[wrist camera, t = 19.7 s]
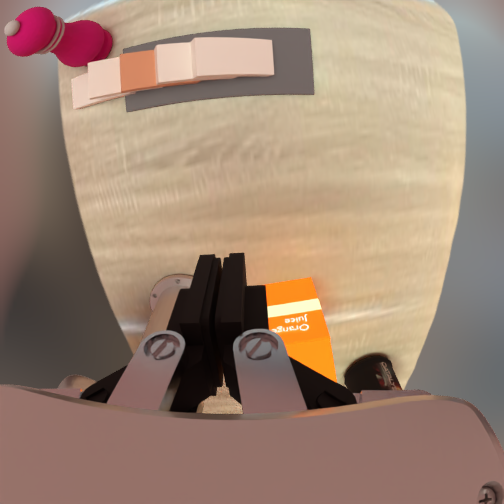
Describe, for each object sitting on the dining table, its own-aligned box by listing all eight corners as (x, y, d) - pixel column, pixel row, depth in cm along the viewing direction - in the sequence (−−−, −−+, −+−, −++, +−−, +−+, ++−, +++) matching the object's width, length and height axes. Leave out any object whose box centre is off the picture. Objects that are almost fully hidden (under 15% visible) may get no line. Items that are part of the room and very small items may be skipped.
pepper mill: (84, 78, 32) (-9, 75, 14) (71, 45, 29) (-18, 31, 11) (122, 51, 31) (37, 24, 13) (107, 18, 28) (26, -18, 10)
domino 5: (271, 40, 29) (194, 37, 26) (274, 74, 31) (196, 75, 28) (264, 43, 31) (190, 42, 27) (266, 76, 33) (192, 78, 29)
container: (337, 361, 58) (358, 432, 42) (388, 342, 56) (419, 408, 40) (344, 388, 63) (361, 450, 47) (389, 372, 61) (413, 430, 45)
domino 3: (198, 46, 29) (119, 54, 26) (200, 81, 32) (121, 91, 28) (194, 50, 31) (119, 58, 27) (195, 83, 33) (121, 93, 30)
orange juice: (258, 284, 48) (263, 381, 31) (311, 276, 48) (340, 368, 30) (265, 320, 52) (271, 414, 34) (314, 312, 51) (337, 403, 33)
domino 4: (235, 41, 29) (156, 44, 26) (238, 76, 32) (158, 82, 28) (229, 45, 31) (154, 49, 27) (231, 78, 33) (156, 85, 30)
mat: (313, 94, 35) (314, 94, 34) (128, 112, 35) (126, 112, 35) (308, 29, 30) (309, 28, 30) (124, 49, 31) (122, 49, 30)
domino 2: (163, 51, 29) (87, 62, 26) (164, 85, 32) (89, 98, 28) (160, 55, 31) (88, 66, 27) (162, 87, 33) (90, 100, 29)
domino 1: (127, 59, 29) (71, 78, 30) (129, 92, 32) (73, 109, 32) (134, 61, 31) (78, 79, 32) (136, 93, 33) (80, 108, 34)
